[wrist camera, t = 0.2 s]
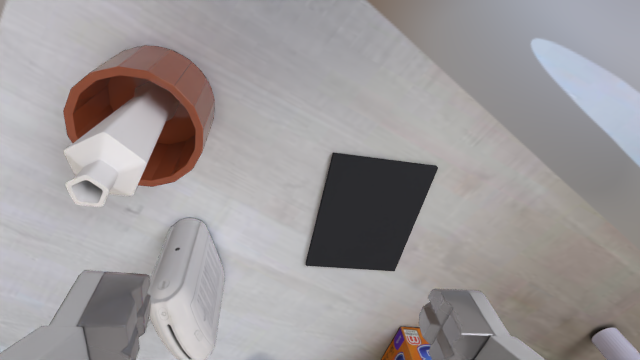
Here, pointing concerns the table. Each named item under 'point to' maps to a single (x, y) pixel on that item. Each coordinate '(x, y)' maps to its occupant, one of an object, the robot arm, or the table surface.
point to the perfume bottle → (614, 345)
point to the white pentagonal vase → (119, 147)
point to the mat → (367, 212)
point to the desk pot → (119, 87)
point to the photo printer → (187, 291)
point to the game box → (408, 346)
